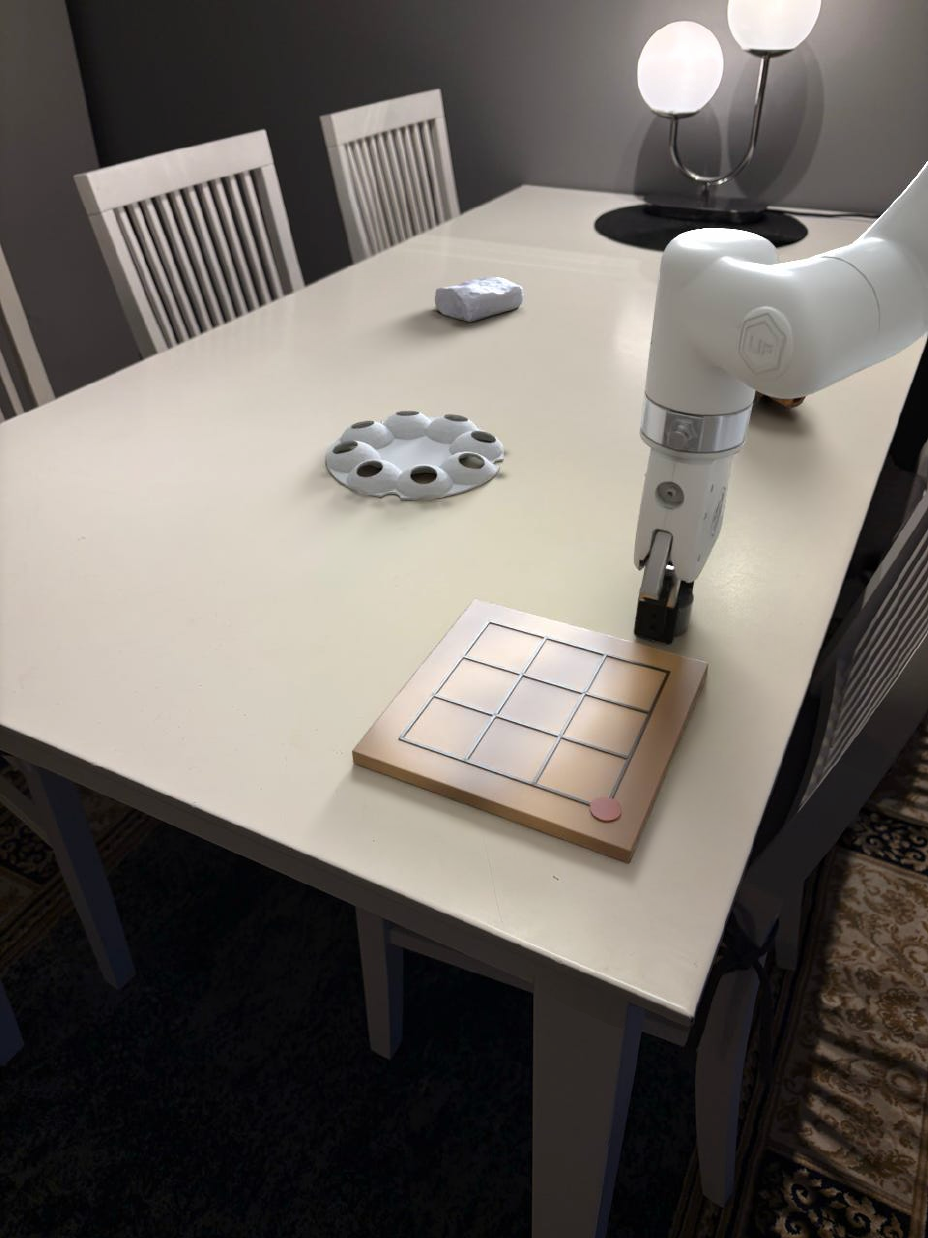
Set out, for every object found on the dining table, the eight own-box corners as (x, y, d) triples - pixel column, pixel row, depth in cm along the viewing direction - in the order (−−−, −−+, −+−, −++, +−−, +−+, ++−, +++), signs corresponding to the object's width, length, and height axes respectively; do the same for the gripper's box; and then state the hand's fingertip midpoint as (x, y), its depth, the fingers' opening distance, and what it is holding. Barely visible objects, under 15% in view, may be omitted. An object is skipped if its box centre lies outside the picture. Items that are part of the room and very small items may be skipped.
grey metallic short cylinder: (694, 615, 77) (699, 586, 75) (680, 644, 74) (686, 615, 72) (644, 602, 79) (648, 573, 77) (628, 630, 75) (632, 601, 74)
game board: (706, 674, 71) (709, 661, 70) (629, 864, 56) (631, 850, 56) (474, 609, 78) (474, 596, 77) (352, 763, 63) (351, 749, 63)
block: (429, 320, 141) (471, 323, 134) (425, 287, 139) (467, 289, 131) (486, 306, 147) (529, 308, 140) (483, 275, 145) (526, 275, 138)
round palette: (329, 506, 92) (327, 489, 90) (323, 424, 107) (322, 408, 106) (519, 492, 94) (520, 474, 93) (487, 413, 109) (487, 397, 108)
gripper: (719, 480, 58) (679, 695, 69) (770, 384, 70) (729, 580, 81) (606, 456, 60) (585, 667, 71) (674, 368, 72) (647, 560, 83)
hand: (662, 619), depth 76 cm, fingers closed on grey metallic short cylinder, 4 cm apart
